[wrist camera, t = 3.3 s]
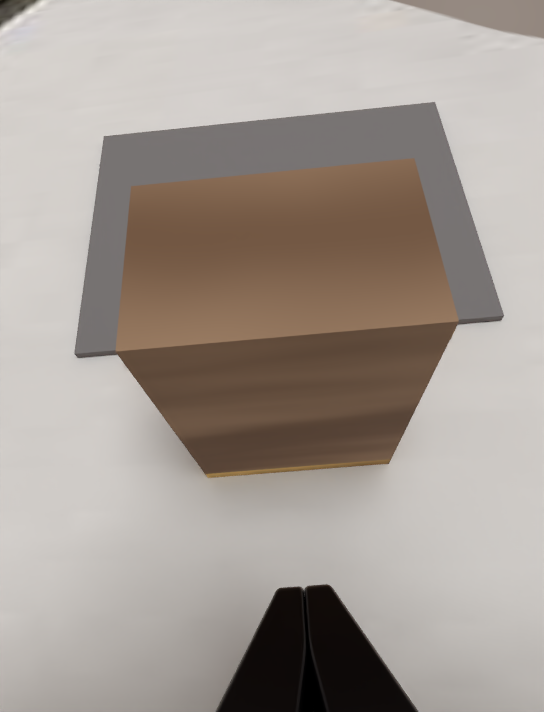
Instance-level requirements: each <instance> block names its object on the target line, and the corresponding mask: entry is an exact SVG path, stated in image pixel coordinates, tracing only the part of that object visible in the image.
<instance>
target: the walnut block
mask: <svg viewBox="0 0 544 712" xmlns="http://www.w3.org/2000/svg"><path fill="white" fill-rule="evenodd" d="M458 322H459V320H458V316H457V312H456V309H455V305H454V301H453V298H452V294H451V290H450V287H449V283H448V279H447V276H446V272H445V268H444V265H443V261H442V257H441V254H440V250H439V246H438V243H437V239H436V235H435V232H434V228H433V224H432V221H431V217H430V213H429V210H428V206H427V202H426V199H425V195H424V191H423V188H422V184H421V181H420V177H419V173H418V170H417V166H416V162H415V159H414V158H411V159H401V160H391V161H381V162H370V163H360V164H350V165H340V166H330V167H320V168H310V169H300V170H290V171H280V172H270V173H259V174H249V175H239V176H229V177H219V178H209V179H199V180H189V181H179V182H169V183H159V184H148V185H138V186H131V192H130V202H129V213H128V224H127V234H126V245H125V255H124V266H123V277H122V287H121V298H120V309H119V319H118V330H117V341H116V351H115V352H116V353H117V354H118V356H119V357H120V358H121V360H122V361H123V362H124V364H125V365H126V367H127V368H128V369H129V371H130V372H131V373H132V375H133V376H134V377H135V379H136V380H137V382H138V383H139V384H140V386H141V387H142V388H143V390H144V391H145V392H146V394H147V395H148V396H149V398H150V399H151V401H152V402H153V403H154V405H155V406H156V407H157V409H158V410H159V411H160V413H161V414H162V416H163V417H164V418H165V420H166V421H167V422H168V424H169V425H170V426H171V428H172V429H173V431H174V432H175V433H176V435H177V436H178V437H179V439H180V440H181V441H182V443H183V444H184V446H185V447H186V448H187V450H188V451H189V452H190V454H191V455H192V456H193V458H194V459H195V461H196V462H197V463H198V465H199V466H200V467H201V469H202V470H203V471H204V473H205V474H206V475H207V477H208V478H212V477H225V476H238V475H250V474H263V473H276V472H288V471H301V470H313V469H326V468H339V467H351V466H364V465H377V464H389V462H390V460H391V458H392V456H393V454H394V452H395V450H396V448H397V446H398V444H399V442H400V440H401V438H402V436H403V434H404V432H405V430H406V428H407V426H408V424H409V421H410V419H411V417H412V415H413V413H414V411H415V409H416V407H417V405H418V403H419V401H420V399H421V397H422V395H423V393H424V391H425V389H426V387H427V385H428V383H429V381H430V379H431V377H432V375H433V373H434V371H435V369H436V367H437V365H438V363H439V361H440V359H441V357H442V355H443V353H444V351H445V349H446V346H447V344H448V342H449V340H450V338H451V336H452V334H453V332H454V330H455V328H456V326H457V324H458Z"/></svg>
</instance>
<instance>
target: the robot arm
mask: <svg viewBox="0 0 544 712" xmlns="http://www.w3.org/2000/svg"><path fill="white" fill-rule="evenodd" d="M304 595H305V596H304ZM216 712H418V710H417V709H416V707H415V706H414V704H413V703H412V702H411V700H410V699H409V697H408V696H407V694H406V693H405V692H404V690H403V689H402V687H401V686H400V684H399V683H398V681H397V680H396V679H395V677H394V676H393V674H392V673H391V671H390V670H389V669H388V667H387V666H386V664H385V663H384V661H383V660H382V658H381V657H380V656H379V654H378V653H377V651H376V650H375V648H374V647H373V645H372V644H371V643H370V641H369V640H368V638H367V637H366V635H365V634H364V633H363V631H362V630H361V628H360V627H359V625H358V624H357V622H356V621H355V620H354V618H353V617H352V615H351V614H350V612H349V611H348V610H347V608H346V607H345V605H344V604H343V602H342V601H341V599H340V598H339V597H338V595H337V594H336V592H335V591H334V589H333V588H332V587H331V586H330V585H312V586H307V587H306V588H305V590H303V588H302V587H285V588H279V589H278V590H277V591H276V592H275V594H274V596H273V598H272V600H271V602H270V604H269V606H268V608H267V610H266V612H265V614H264V616H263V618H262V620H261V622H260V624H259V626H258V628H257V630H256V632H255V634H254V636H253V638H252V640H251V642H250V644H249V646H248V648H247V650H246V652H245V654H244V656H243V658H242V660H241V662H240V664H239V666H238V668H237V670H236V672H235V674H234V676H233V678H232V680H231V682H230V684H229V686H228V688H227V690H226V692H225V694H224V696H223V698H222V700H221V702H220V704H219V706H218V708H217V710H216Z"/></svg>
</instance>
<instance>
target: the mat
mask: <svg viewBox="0 0 544 712" xmlns="http://www.w3.org/2000/svg"><path fill="white" fill-rule="evenodd" d="M411 158H414V159H415V162H416V166H417V170H418V173H419V177H420V181H421V184H422V188H423V191H424V195H425V199H426V202H427V206H428V210H429V213H430V217H431V221H432V224H433V228H434V232H435V235H436V239H437V243H438V246H439V250H440V254H441V257H442V261H443V265H444V268H445V272H446V276H447V279H448V283H449V287H450V290H451V294H452V298H453V301H454V305H455V309H456V312H457V316H458V320H459V322H458V324H462V323H473V322H484V321H496V320H502V318H503V316H504V314H503V311H502V308H501V305H500V302H499V299H498V296H497V293H496V290H495V286H494V283H493V280H492V277H491V274H490V271H489V268H488V265H487V262H486V259H485V255H484V252H483V249H482V246H481V243H480V240H479V237H478V234H477V231H476V228H475V225H474V221H473V218H472V215H471V212H470V209H469V206H468V203H467V200H466V197H465V194H464V191H463V187H462V184H461V181H460V178H459V175H458V172H457V169H456V166H455V163H454V160H453V157H452V153H451V150H450V147H449V144H448V141H447V138H446V135H445V132H444V129H443V126H442V123H441V119H440V116H439V113H438V110H437V107H436V104H435V102H431V103H422V104H412V105H402V106H393V107H383V108H373V109H364V110H354V111H344V112H335V113H325V114H315V115H306V116H296V117H286V118H277V119H267V120H257V121H248V122H238V123H228V124H219V125H209V126H199V127H190V128H180V129H171V130H161V131H151V132H142V133H132V134H122V135H113V136H104V140H103V147H102V154H101V162H100V169H99V176H98V184H97V191H96V199H95V206H94V213H93V221H92V228H91V235H90V243H89V250H88V257H87V265H86V272H85V279H84V287H83V294H82V302H81V309H80V316H79V324H78V331H77V338H76V346H75V353H74V354H75V355H76V356H77V357H88V356H100V355H111V354H117V353H116V352H115V351H116V341H117V330H118V319H119V309H120V298H121V287H122V277H123V266H124V255H125V245H126V234H127V224H128V213H129V202H130V192H131V186H138V185H148V184H159V183H169V182H179V181H189V180H199V179H209V178H219V177H229V176H239V175H249V174H259V173H270V172H280V171H290V170H300V169H310V168H320V167H330V166H340V165H350V164H360V163H370V162H381V161H391V160H401V159H411ZM455 329H456V328H455ZM454 331H455V330H454ZM453 333H454V332H453ZM452 335H453V334H452ZM451 337H452V336H451ZM450 339H451V338H450Z"/></svg>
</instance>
